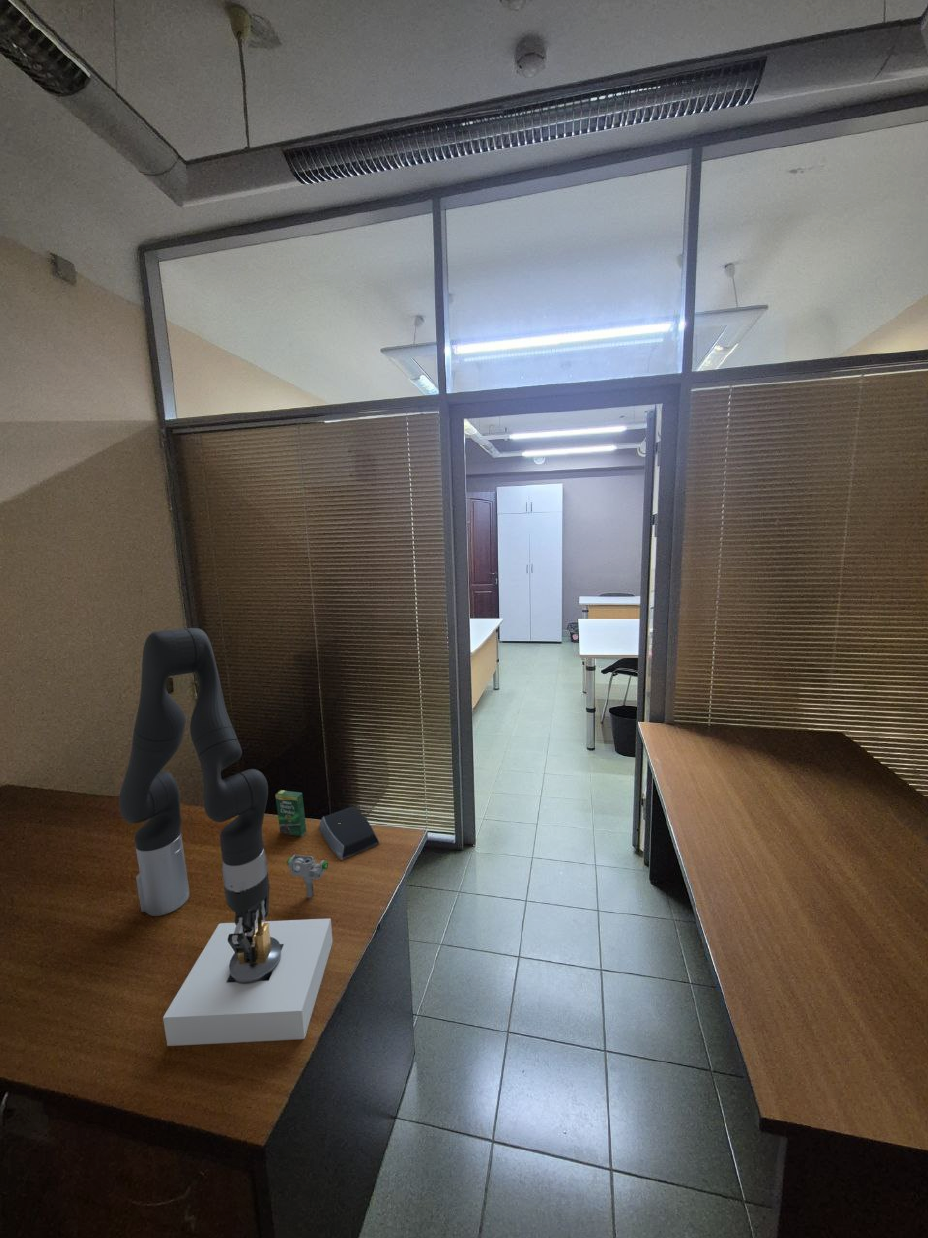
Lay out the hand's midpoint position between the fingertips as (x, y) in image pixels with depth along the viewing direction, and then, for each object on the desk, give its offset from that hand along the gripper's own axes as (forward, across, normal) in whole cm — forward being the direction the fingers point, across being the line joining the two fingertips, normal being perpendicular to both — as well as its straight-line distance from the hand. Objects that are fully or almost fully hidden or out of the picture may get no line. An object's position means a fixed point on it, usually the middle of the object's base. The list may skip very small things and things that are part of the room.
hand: (255, 953), depth 90 cm
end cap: (+8, 0, 0) cm, 8 cm away
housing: (+8, 0, 0) cm, 8 cm away
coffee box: (+8, -50, -10) cm, 52 cm away
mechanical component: (+8, -24, +3) cm, 26 cm away
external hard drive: (+9, -48, +7) cm, 49 cm away
